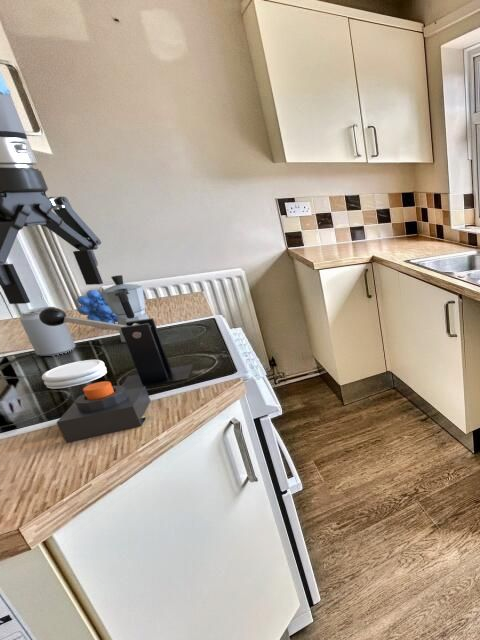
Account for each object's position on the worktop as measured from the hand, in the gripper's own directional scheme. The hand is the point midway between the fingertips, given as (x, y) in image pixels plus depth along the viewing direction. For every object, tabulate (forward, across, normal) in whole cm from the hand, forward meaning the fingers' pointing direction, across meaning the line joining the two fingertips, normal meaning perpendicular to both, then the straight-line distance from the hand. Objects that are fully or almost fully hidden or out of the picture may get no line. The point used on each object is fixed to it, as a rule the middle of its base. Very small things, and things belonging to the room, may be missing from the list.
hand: (60, 293), depth 77 cm
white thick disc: (+23, +9, +15) cm, 29 cm away
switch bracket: (+22, +8, -4) cm, 24 cm away
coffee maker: (+23, +38, +25) cm, 51 cm away
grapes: (+23, +49, +43) cm, 69 cm away
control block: (+22, -8, -9) cm, 26 cm away
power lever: (+9, +5, +2) cm, 11 cm away
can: (+23, +28, +39) cm, 53 cm away
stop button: (+17, -9, -9) cm, 21 cm away
